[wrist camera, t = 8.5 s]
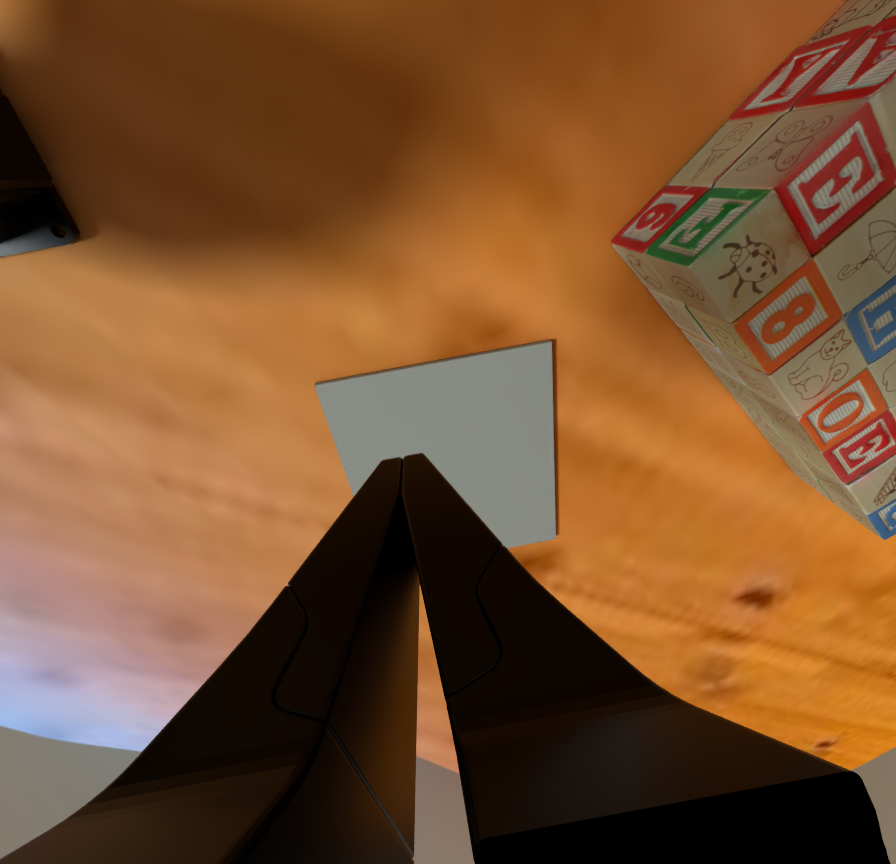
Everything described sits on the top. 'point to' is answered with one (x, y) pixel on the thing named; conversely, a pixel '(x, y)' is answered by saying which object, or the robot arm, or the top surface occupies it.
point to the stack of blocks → (797, 259)
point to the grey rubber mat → (460, 431)
